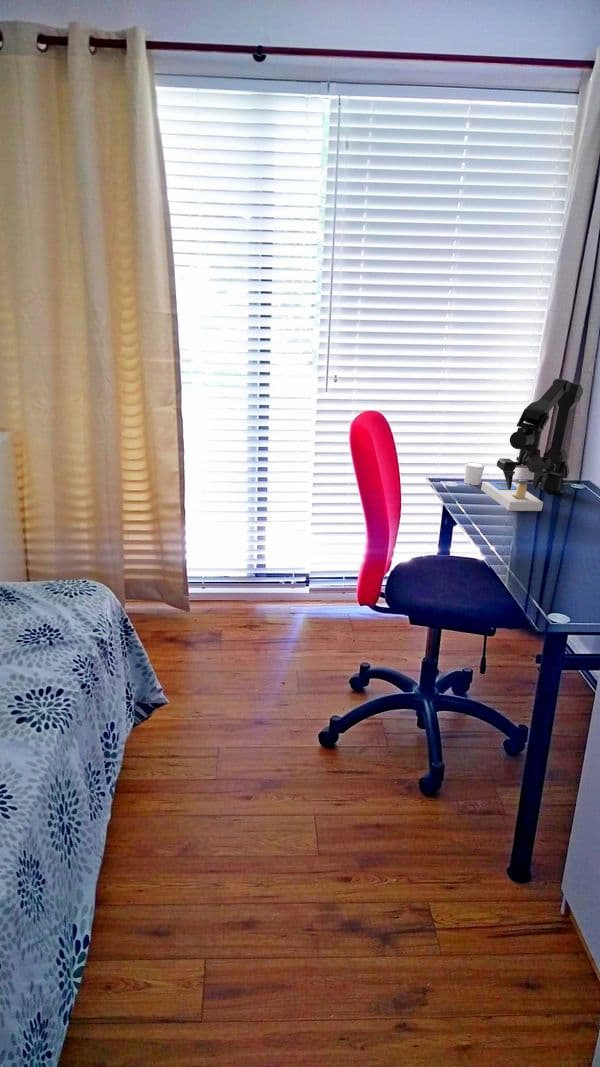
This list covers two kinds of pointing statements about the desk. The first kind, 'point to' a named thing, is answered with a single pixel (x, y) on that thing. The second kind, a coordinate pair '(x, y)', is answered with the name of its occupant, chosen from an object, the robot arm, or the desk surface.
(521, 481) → the grey-capped tan cylinder
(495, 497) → the block
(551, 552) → the desk surface
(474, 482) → the white cylinder
